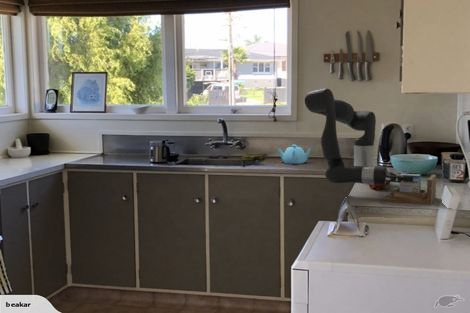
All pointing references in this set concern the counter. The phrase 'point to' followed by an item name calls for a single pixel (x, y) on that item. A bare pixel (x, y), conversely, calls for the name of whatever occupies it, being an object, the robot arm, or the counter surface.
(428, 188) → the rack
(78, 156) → the counter surface
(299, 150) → the teapot
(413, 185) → the medicine box
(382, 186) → the dragon fruit
